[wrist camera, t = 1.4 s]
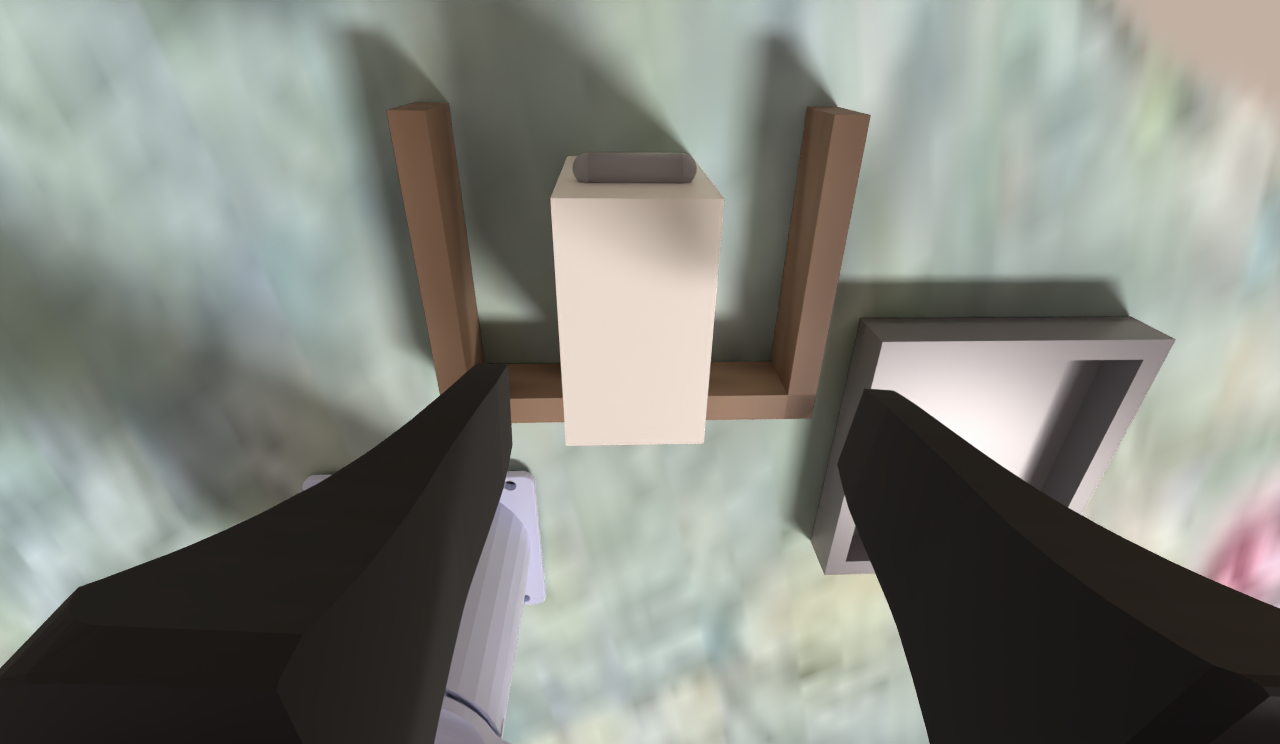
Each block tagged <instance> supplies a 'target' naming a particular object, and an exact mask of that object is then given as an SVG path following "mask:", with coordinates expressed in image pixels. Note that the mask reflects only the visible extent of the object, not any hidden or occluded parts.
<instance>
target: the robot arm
mask: <svg viewBox="0 0 1280 744" xmlns="http://www.w3.org/2000/svg"><path fill="white" fill-rule="evenodd" d="M511 449H512V428H511V408H510V389H509V370H508V365H502V364H487V363H477V364H475V365H474V366H473V367H472V368H471V369H469V370H468V371H467V372H466V373H465V374H464V375H462V376H461V377H460V378H459V379H458V380H457V381H456V382H455V383H453V384H452V385H451V386H450V387H449V388H448V389H447V390H446V391H444V392H443V393H442V394H441V395H440V396H439V397H438V398H436V399H435V400H434V401H433V402H432V403H431V404H429V405H428V406H427V407H426V408H425V409H423V410H422V411H421V412H420V413H419V414H417V415H416V416H415V417H414V418H413V419H412V420H410V421H409V422H408V423H406V424H405V425H404V426H402V427H401V428H400V429H399V430H397V431H396V432H395V433H393V434H392V435H391V436H389V437H388V438H387V439H385V440H384V441H383V442H381V443H380V444H379V445H377V446H376V447H374V448H373V449H372V450H370V451H369V452H367V453H366V454H364V455H363V456H361V457H360V458H358V459H357V460H355V461H354V462H352V463H350V464H349V465H347V466H346V467H344V468H342V469H341V470H339V471H338V472H336V473H334V474H333V475H311V476H309V477H308V478H307V479H306V480H305V481H304V483H303V485H302V489H303V492H301V493H299V494H297V495H295V496H293V497H291V498H289V499H287V500H286V501H284V502H282V503H280V504H278V505H276V506H274V507H272V508H271V509H269V510H267V511H265V512H263V513H261V514H259V515H257V516H255V517H252V518H250V519H248V520H246V521H244V522H242V523H240V524H237V525H235V526H233V527H231V528H229V529H227V530H224V531H222V532H220V533H217V534H215V535H213V536H211V537H208V538H206V539H204V540H201V541H199V542H197V543H194V544H192V545H190V546H187V547H185V548H182V549H180V550H177V551H175V552H172V553H170V554H167V555H165V556H162V557H159V558H157V559H154V560H151V561H149V562H146V563H143V564H141V565H138V566H135V567H133V568H130V569H127V570H125V571H122V572H119V573H117V574H114V575H111V576H109V577H106V578H104V579H101V580H98V581H95V582H92V583H89V584H87V585H84V586H81V587H79V588H77V589H76V590H75V591H74V592H73V593H72V594H71V595H70V596H69V597H68V598H67V599H66V600H65V601H64V602H63V604H62V605H61V606H60V607H59V608H58V609H57V610H56V611H55V612H54V613H53V614H52V615H51V616H50V617H49V618H48V619H47V620H46V621H45V622H44V623H43V624H42V625H41V626H40V627H39V629H38V630H37V631H36V632H35V633H34V634H33V635H32V636H31V637H30V638H29V639H28V640H27V641H26V642H25V643H24V644H23V645H22V646H21V647H20V648H19V649H18V650H17V651H16V652H15V654H14V655H13V656H12V657H11V658H10V659H9V660H8V661H7V662H6V663H5V664H4V665H3V666H2V667H1V668H0V744H510V743H508V742H506V741H504V740H502V738H503V732H504V725H505V719H506V713H507V706H508V700H509V693H510V687H511V681H512V674H513V668H514V661H515V655H516V649H517V642H518V636H519V630H520V623H521V617H522V610H523V605H528V604H540V603H542V602H543V601H544V600H545V597H546V585H545V575H544V565H543V555H542V545H541V535H540V525H539V515H538V505H537V495H536V485H535V479H534V476H533V475H532V474H531V473H529V472H526V471H507V470H508V465H509V460H510V455H511ZM837 466H838V470H839V474H840V479H841V483H842V487H843V491H844V494H845V498H846V502H847V505H848V508H849V511H850V513H851V516H852V519H853V521H854V523H855V526H856V528H857V531H858V533H859V536H860V538H861V540H862V543H863V545H864V548H865V550H866V552H867V555H868V557H869V559H870V562H871V564H872V566H873V569H874V571H875V574H876V576H877V578H878V581H879V583H880V585H881V588H882V590H883V592H884V595H885V597H886V600H887V602H888V604H889V607H890V610H891V612H892V615H893V618H894V620H895V623H896V626H897V629H898V632H899V635H900V638H901V642H902V645H903V648H904V652H905V655H906V658H907V662H908V665H909V668H910V672H911V675H912V678H913V682H914V686H915V689H916V693H917V697H918V700H919V704H920V708H921V711H922V715H923V719H924V723H925V726H926V730H927V734H928V738H929V742H930V744H1280V608H1277V607H1274V606H1272V605H1270V604H1267V603H1265V602H1262V601H1260V600H1257V599H1255V598H1253V597H1250V596H1248V595H1246V594H1243V593H1241V592H1239V591H1236V590H1234V589H1232V588H1229V587H1227V586H1225V585H1222V584H1220V583H1218V582H1215V581H1213V580H1211V579H1208V578H1206V577H1204V576H1202V575H1199V574H1197V573H1195V572H1193V571H1191V570H1188V569H1186V568H1184V567H1182V566H1180V565H1177V564H1175V563H1173V562H1171V561H1169V560H1167V559H1165V558H1163V557H1161V556H1159V555H1157V554H1155V553H1153V552H1151V551H1149V550H1147V549H1145V548H1143V547H1141V546H1139V545H1137V544H1135V543H1132V542H1130V541H1128V540H1126V539H1124V538H1122V537H1121V536H1119V535H1117V534H1115V533H1113V532H1111V531H1109V530H1107V529H1105V528H1104V527H1102V526H1100V525H1098V524H1096V523H1094V522H1093V521H1091V520H1089V519H1087V518H1086V517H1084V516H1082V515H1080V514H1079V513H1077V512H1075V511H1073V510H1072V509H1070V508H1068V507H1066V506H1065V505H1063V504H1061V503H1059V502H1058V501H1056V500H1054V499H1053V498H1051V497H1049V496H1048V495H1046V494H1044V493H1043V492H1041V491H1040V490H1038V489H1036V488H1035V487H1033V486H1032V485H1030V484H1029V483H1027V482H1026V481H1024V480H1023V479H1021V478H1020V477H1018V476H1016V475H1015V474H1013V473H1012V472H1010V471H1009V470H1007V469H1006V468H1004V467H1003V466H1001V465H1000V464H998V463H997V462H996V461H994V460H993V459H991V458H990V457H988V456H987V455H985V454H984V453H983V452H981V451H980V450H978V449H977V448H975V447H974V446H973V445H971V444H970V443H968V442H967V441H966V440H964V439H963V438H962V437H960V436H959V435H957V434H956V433H955V432H953V431H952V430H951V429H949V428H948V427H946V426H945V425H944V424H942V423H941V422H940V421H938V420H937V419H935V418H934V417H933V416H931V415H930V414H929V413H927V412H926V411H924V410H923V409H921V408H920V407H919V406H917V405H916V404H914V403H913V402H911V401H910V400H908V399H907V398H905V397H904V396H902V395H901V394H899V393H897V392H896V391H894V390H880V389H865V388H864V391H863V394H862V396H861V399H860V402H859V405H858V407H857V410H856V413H855V416H854V419H853V421H852V424H851V427H850V430H849V432H848V435H847V438H846V441H845V443H844V446H843V449H842V452H841V455H840V457H839V460H838V463H837ZM507 481H513V482H514V483H515V484H508V483H507Z"/></svg>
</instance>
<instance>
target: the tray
mask: <svg viewBox="0 0 1280 744" xmlns="http://www.w3.org/2000/svg"><path fill="white" fill-rule="evenodd" d="M1175 340H1176V339H1174V338H1172V337H1170V336H1168V335H1166V334H1164V333H1162V332H1160V331H1158V330H1156V329H1154V328H1152V327H1150V326H1148V325H1146V324H1144V323H1142V322H1141V321H1139V320H1137V319H1135V318H1133V317H1131V316H1123V317H975V318H861V319H860V323H859V328H858V332H857V337H856V341H855V346H854V350H853V354H852V359H851V363H850V368H849V372H848V377H847V381H846V386H845V390H844V395H843V399H842V404H841V408H840V413H839V417H838V422H837V426H836V431H835V435H834V439H833V444H832V448H831V453H830V457H829V462H828V466H827V471H826V475H825V480H824V484H823V489H822V493H821V498H820V502H819V507H818V511H817V516H816V520H815V524H814V529H813V533H812V538H811V543H812V545H813V548H814V550H815V553H816V555H817V558H818V560H819V563H820V565H821V567H822V570H823V572H824V575H837V574H873V573H875V571H874V569H873V566H872V564H871V562H870V559H869V557H868V555H867V552H866V550H865V548H864V545H863V543H862V540H861V538H860V536H859V533H858V531H857V528H856V526H855V523H854V521H853V519H852V516H851V513H850V511H849V508H848V505H847V502H846V498H845V494H844V491H843V487H842V483H841V479H840V474H839V470H838V466H837V463H838V460H839V457H840V455H841V452H842V449H843V446H844V443H845V441H846V438H847V435H848V432H849V430H850V427H851V424H852V421H853V419H854V416H855V413H856V410H857V407H858V405H859V402H860V399H861V396H862V394H863V391H864V388H865V389H880V390H894V391H896V392H897V393H899V394H901V395H902V396H904V397H905V398H907V399H908V400H910V401H911V402H913V403H914V404H916V405H917V406H919V407H920V408H921V409H923V410H924V411H926V412H927V413H929V414H930V415H931V416H933V417H934V418H935V419H937V420H938V421H940V422H941V423H942V424H944V425H945V426H946V427H948V428H949V429H951V430H952V431H953V432H955V433H956V434H957V435H959V436H960V437H962V438H963V439H964V440H966V441H967V442H968V443H970V444H971V445H973V446H974V447H975V448H977V449H978V450H980V451H981V452H983V453H984V454H985V455H987V456H988V457H990V458H991V459H993V460H994V461H996V462H997V463H998V464H1000V465H1001V466H1003V467H1004V468H1006V469H1007V470H1009V471H1010V472H1012V473H1013V474H1015V475H1016V476H1018V477H1020V478H1021V479H1023V480H1024V481H1026V482H1027V483H1029V484H1030V485H1032V486H1033V487H1035V488H1036V489H1038V490H1040V491H1041V492H1043V493H1044V494H1046V495H1048V496H1049V497H1051V498H1053V499H1054V500H1056V501H1058V502H1059V503H1061V504H1063V505H1065V506H1066V507H1068V508H1070V509H1072V510H1073V511H1075V512H1077V513H1079V514H1080V515H1082V514H1083V512H1084V511H1085V509H1086V507H1087V505H1088V503H1089V501H1090V499H1091V497H1092V496H1093V494H1094V492H1095V490H1096V488H1097V486H1098V484H1099V482H1100V481H1101V479H1102V477H1103V475H1104V473H1105V471H1106V469H1107V467H1108V466H1109V464H1110V462H1111V460H1112V458H1113V456H1114V454H1115V452H1116V451H1117V449H1118V447H1119V445H1120V443H1121V441H1122V439H1123V437H1124V435H1125V434H1126V432H1127V430H1128V428H1129V426H1130V424H1131V422H1132V420H1133V419H1134V417H1135V415H1136V413H1137V411H1138V409H1139V407H1140V405H1141V404H1142V402H1143V400H1144V398H1145V396H1146V394H1147V392H1148V390H1149V389H1150V387H1151V385H1152V383H1153V381H1154V379H1155V377H1156V375H1157V374H1158V372H1159V370H1160V368H1161V366H1162V364H1163V362H1164V360H1165V359H1166V357H1167V355H1168V353H1169V351H1170V349H1171V347H1172V345H1173V344H1174V342H1175Z"/></svg>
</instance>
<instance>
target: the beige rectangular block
mask: <svg viewBox="0 0 1280 744" xmlns="http://www.w3.org/2000/svg"><path fill="white" fill-rule="evenodd" d="M550 201H551V217H552V232H553V248H554V264H555V280H556V295H557V311H558V327H559V343H560V358H561V374H562V390H563V406H564V422H565V437H566V446H582V445H641V444H700V443H704V434H705V422H706V410H707V399H708V387H709V375H710V363H711V351H712V340H713V328H714V316H715V304H716V293H717V281H718V269H719V257H720V245H721V234H722V222H723V210H724V198H723V196H722V195H721V194H720V192H719V191H718V190H717V188H716V187H715V186H714V185H713V183H712V182H711V181H710V179H709V178H708V177H707V175H706V174H705V173H704V172H703V170H702V169H701V168H700V166H699V165H698V164H697V162H696V161H695V160H694V158H693V157H691V156H690V155H689V154H686V153H658V152H584V153H581V154H580V155H578V156H567V158H566V161H565V163H564V166H563V168H562V171H561V173H560V176H559V178H558V181H557V183H556V186H555V188H554V190H553V193H552V195H551V198H550Z"/></svg>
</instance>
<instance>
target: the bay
mask: <svg viewBox="0 0 1280 744" xmlns="http://www.w3.org/2000/svg"><path fill="white" fill-rule="evenodd" d="M386 111H387V116H388V122H389V127H390V132H391V137H392V143H393V148H394V153H395V159H396V164H397V169H398V175H399V180H400V185H401V190H402V196H403V201H404V206H405V212H406V217H407V222H408V228H409V233H410V238H411V243H412V249H413V254H414V259H415V265H416V270H417V275H418V281H419V286H420V291H421V296H422V302H423V307H424V312H425V318H426V323H427V328H428V334H429V339H430V344H431V349H432V355H433V360H434V365H435V371H436V376H437V381H438V387H439V392H440V395H441V394H442V393H443V392H444V391H446V390H447V389H448V388H449V387H450V386H451V385H452V384H453V383H455V382H456V381H457V380H458V379H459V378H460V377H461V376H462V375H464V374H465V373H466V372H467V371H468V370H469V369H471V368H472V367H473V366H474V365H475V364H477V363H484V356H483V348H482V341H481V334H480V327H479V319H478V312H477V305H476V298H475V291H474V283H473V276H472V269H471V262H470V255H469V247H468V240H467V233H466V226H465V219H464V211H463V204H462V197H461V190H460V183H459V175H458V168H457V161H456V154H455V146H454V139H453V132H452V125H451V118H450V110H449V103H411V104H408V105H404V106H400V107H397V108H393V109H389V110H386ZM870 116H871V115H868V114H864V113H860V112H856V111H852V110H848V109H844V108H840V107H807V111H806V118H805V125H804V132H803V139H802V146H801V153H800V160H799V167H798V174H797V181H796V188H795V195H794V202H793V208H792V215H791V222H790V229H789V236H788V243H787V250H786V257H785V264H784V271H783V278H782V285H781V292H780V299H779V306H778V313H777V320H776V326H775V333H774V340H773V347H772V354H771V361H742V362H711V363H710V375H709V387H708V399H707V410H706V420H735V419H801V418H812V413H813V408H814V403H815V398H816V392H817V387H818V382H819V377H820V372H821V367H822V362H823V357H824V351H825V346H826V341H827V336H828V331H829V326H830V321H831V316H832V311H833V305H834V300H835V295H836V290H837V285H838V280H839V275H840V270H841V265H842V259H843V254H844V249H845V244H846V239H847V234H848V229H849V224H850V218H851V213H852V208H853V203H854V198H855V193H856V188H857V183H858V178H859V172H860V167H861V162H862V157H863V152H864V147H865V142H866V137H867V132H868V126H869V121H870ZM502 365H508V370H509V389H510V408H511V423H535V422H564V406H563V390H562V374H561V363H547V364H502Z"/></svg>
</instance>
